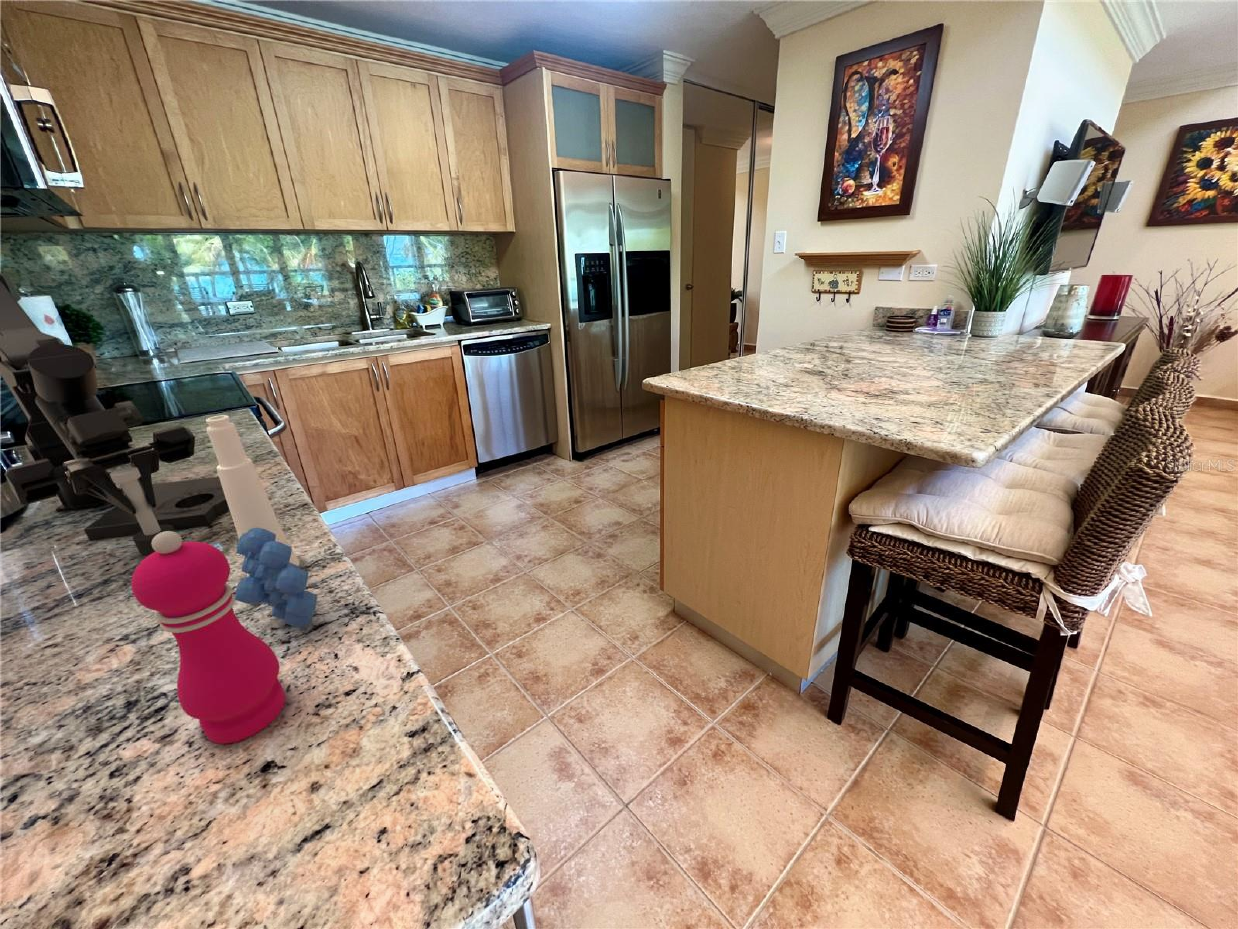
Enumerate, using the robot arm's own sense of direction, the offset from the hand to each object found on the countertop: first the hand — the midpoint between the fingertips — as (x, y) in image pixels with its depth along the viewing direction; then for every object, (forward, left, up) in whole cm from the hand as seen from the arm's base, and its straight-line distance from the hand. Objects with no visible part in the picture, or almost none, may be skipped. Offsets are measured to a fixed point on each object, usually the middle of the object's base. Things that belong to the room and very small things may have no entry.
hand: (144, 509), depth 69 cm
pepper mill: (+23, -34, -8) cm, 42 cm away
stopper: (-1, +1, -7) cm, 7 cm away
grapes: (+22, -21, -8) cm, 31 cm away
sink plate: (-6, +16, -7) cm, 19 cm away
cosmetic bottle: (+17, -9, -8) cm, 21 cm away
